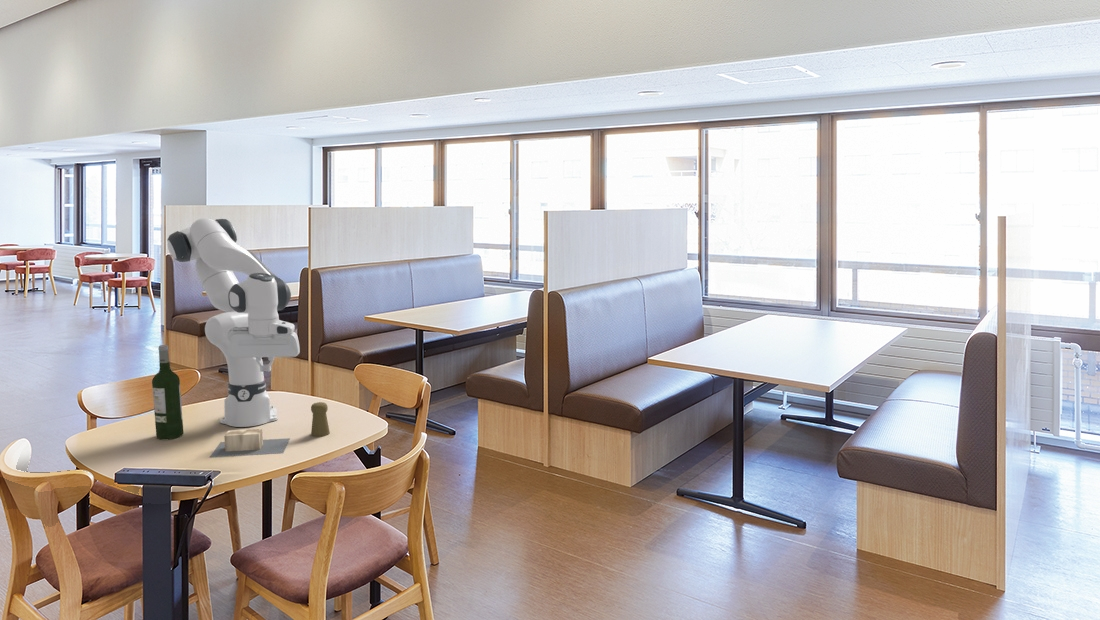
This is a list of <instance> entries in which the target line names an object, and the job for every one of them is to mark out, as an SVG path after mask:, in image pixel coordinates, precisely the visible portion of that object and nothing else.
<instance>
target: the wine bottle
mask: <svg viewBox="0 0 1100 620" xmlns="http://www.w3.org/2000/svg"><path fill="white" fill-rule="evenodd" d="M158 360H159V364H158V365H159V371H158V372H157V373H156V374H155V375H154V376H153V378H152V380H151V388H152V398H153V409H154V410H153V411H154V423H155V424H154V425H155V436H156V438H157V439H158V440H162V439H168V440H173V439H174V438H175V439H177V438H180V436H181V437H182V436H183V435H184V424H183V423H184V419H183V408H182V407H183V406H182V396H181V395H182V394H181V393H182V392H181V380H180V377H179V376H178V374H177V373H176V372H174V371H173V370H171V369H172V368H171V364H170V355H169V346H168V345H167V344H160V345H158Z"/></svg>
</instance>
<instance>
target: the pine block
mask: <svg viewBox="0 0 1100 620" xmlns="http://www.w3.org/2000/svg"><path fill="white" fill-rule="evenodd" d="M263 437H264V436H263V428H256V429H255V428H254V429H253V428H252V429H237V430H235V429H233V430H227V432H226V433H225V434H224V437H223V438H224V442H225V452H227V451H244V450H260V449H261V447H262V445H263V440H264V439H263Z"/></svg>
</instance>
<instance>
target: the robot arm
mask: <svg viewBox="0 0 1100 620" xmlns="http://www.w3.org/2000/svg"><path fill="white" fill-rule="evenodd" d="M237 241H238V238H237V231H236V227H234V225H233V224H232V222H231V221H230V220H228V219H226V218H218V219H212V218H209V217H201V218H199V219H197V220H195V221H194V222H192V224H191V225H190V227H186V228H184V229H182V230H180V231H179V230H177V231H174V232H173V233H171V234H169V235H168V238H167V249H168V253H169V254H170V255H171V257H173V258H174V260H175V261H177V262H179V263H186V262H190V261H192V260H195V263H194V267H195V272H196V274H197V277H198V280H199V282H200V285H201V286H202V288H203V290H204V292H205V294H206V296H207V298H208V300H209V301H210V303H211V305H212V306H213V307H214V308H215V309H217V310H219V311H223V312H222V313H219V314H216V315H214V316H211V317H209V318H208V320H207V321H206V323H205V325H204V333H205V337H206V339H207V340H208V341H209V343H210V344H212V345H214V346H216V347H217V348H218V349H219V350H220V352H222V354H223V356H224V358H225V360H226V364H227V373H228V383H227V391H228V395H227V397H225V399H224V405H223V406H224V408H223V409H224V417H222V418H220V419H219V424H225V425H227V426H230V427H238V428H244V427H245V428H247V427H256V426H261V425H263V424H264V425H265V424H267V423H269V422H274V421H277V420H279V418H278V412H277V406H274V405H271V398H270V395H269V393H268V391H267V384H266V380H265V377H264V376H265V375H264V372H271V371H272V364H273V362H274V361H275V358H295V357H297V356H299V355H300V352H301V351H300V350H301V349H300V348H301V347H300V341H299V337H298V334H297V333H296V332H295V328H296V325H295V324H294V323H292V322H289V321H284V320H281V319H280V317H279V316H280V315H279V313H278V311H284V309H285V308H286V307H287V306H288V305H289V303H290V301H291V298H292V294H291V293H292V292H291V289H290V287H289V285H288V284H287V283H286V282H285V281H284V280H283V279H281V278H280V277H278V276H277V275H275V273H273V271H271V270H270V268H268V267H267V266H266V264H265V263H264V262H262V260H260V259H259V257H258V256H257V255H255V254H254V253H253V252H252V251H249V250H248V249H246V248H244V247H242V246H241V245H239V244H238V243H237ZM235 272H237V273H242V274H245V275H248V276H247V277H246V279H244V280H243V281H241V282H240V281H239V280H238V278H237V277H236V275H235ZM263 358H267V359H268V361H269V363H268V364H264V361H263Z"/></svg>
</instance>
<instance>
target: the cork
mask: <svg viewBox="0 0 1100 620" xmlns="http://www.w3.org/2000/svg"><path fill="white" fill-rule="evenodd" d="M310 411H311V414H312V420H311V432H310V435H311V436H312V437H314V438H319V437H326V436H329V435H330V433H331V431H330V427H329V426H330V425H329V422H328V416H327V412H328V404H327V403H326V402H321V401H319V402H314V403H313V404H312V405H311V407H310Z"/></svg>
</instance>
